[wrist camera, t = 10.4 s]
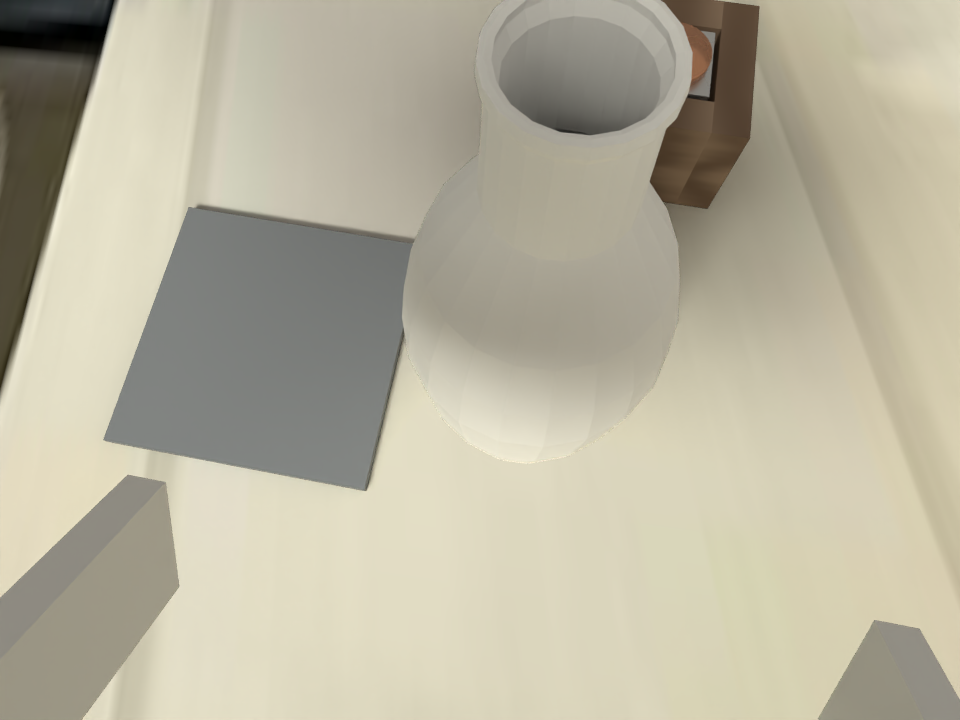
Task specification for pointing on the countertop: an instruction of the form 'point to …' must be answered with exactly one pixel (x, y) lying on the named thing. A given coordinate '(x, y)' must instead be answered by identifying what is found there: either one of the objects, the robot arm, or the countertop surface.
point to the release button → (700, 61)
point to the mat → (268, 349)
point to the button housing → (711, 107)
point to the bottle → (553, 231)
